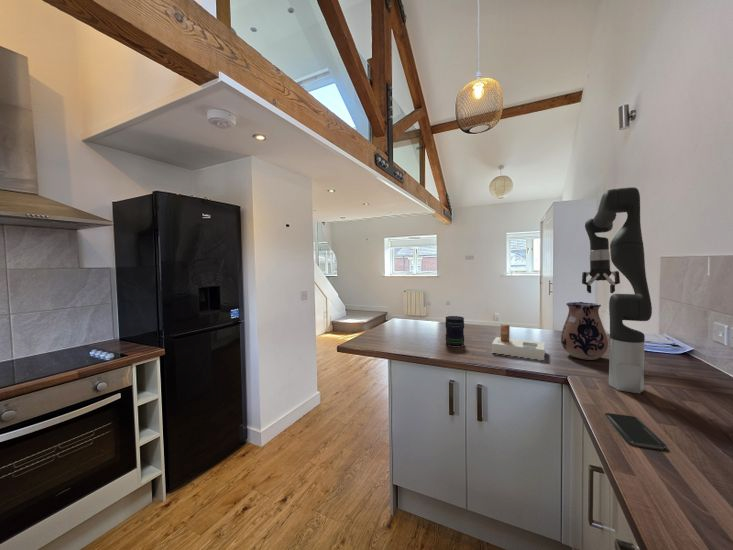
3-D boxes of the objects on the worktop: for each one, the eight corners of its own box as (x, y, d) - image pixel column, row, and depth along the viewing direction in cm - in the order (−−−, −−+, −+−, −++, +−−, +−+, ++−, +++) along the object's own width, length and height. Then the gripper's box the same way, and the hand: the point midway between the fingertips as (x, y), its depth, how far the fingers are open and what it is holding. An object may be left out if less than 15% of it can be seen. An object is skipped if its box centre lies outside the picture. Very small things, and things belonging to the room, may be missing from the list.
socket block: (544, 360, 133) (544, 349, 133) (491, 353, 145) (491, 343, 144) (544, 352, 145) (544, 342, 145) (496, 346, 157) (496, 336, 156)
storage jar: (466, 343, 163) (466, 316, 162) (461, 348, 154) (461, 320, 154) (448, 341, 168) (448, 315, 167) (443, 345, 160) (442, 318, 159)
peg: (508, 342, 145) (508, 326, 145) (500, 341, 147) (500, 325, 147) (509, 340, 148) (509, 324, 148) (501, 339, 151) (501, 324, 150)
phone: (628, 442, 73) (603, 412, 87) (628, 446, 73) (603, 416, 87) (670, 448, 70) (637, 416, 84) (669, 453, 70) (637, 420, 84)
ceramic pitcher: (567, 361, 132) (568, 306, 130) (554, 348, 152) (554, 299, 150) (615, 365, 126) (616, 307, 125) (595, 350, 146) (595, 300, 145)
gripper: (583, 260, 142) (584, 293, 142) (621, 258, 136) (622, 293, 136) (580, 260, 148) (581, 292, 149) (615, 258, 142) (616, 292, 143)
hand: (600, 293), depth 142 cm, fingers open, 8 cm apart
